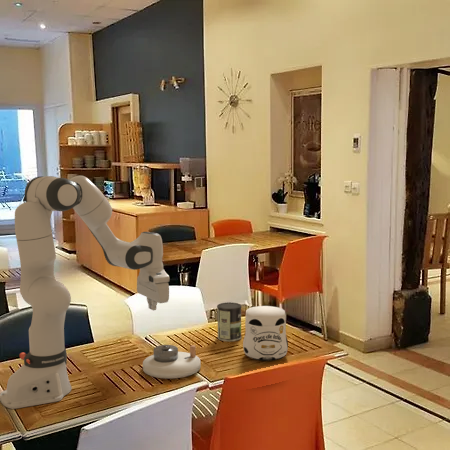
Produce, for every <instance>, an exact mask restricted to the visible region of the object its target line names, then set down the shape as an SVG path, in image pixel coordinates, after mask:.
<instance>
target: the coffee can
mask: <svg viewBox="0 0 450 450" xmlns="http://www.w3.org/2000/svg"><path fill="white" fill-rule="evenodd" d="M216 307H217V339H218V340H219V341H222V342H236V341H240V340H241V339H242V304H240V303H238V302H232V301H231V302H222V303H219V304H217V306H216Z"/></svg>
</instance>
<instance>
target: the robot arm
mask: <svg viewBox="0 0 450 450" xmlns="http://www.w3.org/2000/svg"><path fill="white" fill-rule="evenodd" d="M22 201H23V203H20V204H19V205H18V206H17V207H16V208H15V209H14V210H15V211H14V230H15V232H14V233H15V240H16V244H17V251H18V254H19V263H20V285H19V292H20V295H21V298H22V299H23V300H24V302H25V303H26V304H28V305H29V306H31V309H32V316H31V317H32V318H31V322H30V323H31V324H30V325H29V328H28V343H29V351H28V353H26V352H20V353H19V358H20V359H21V360H22V361H23V365H21V366H20V368H19V369H17V370H16V371H14V373H12V374H11V375H10V376H9V378H8V380H7V384H6V389H4V390H2V391H1V392H0V403H1V404H2V406H4V407H6V408H8V409H13V410H16V409H21V408H27V407H33V406H38V405H42V404H43V405H44V404H49V403H55V402H60V401H62V399H63V398H64V397H65V396H66V395H68V394H69V393H70V392H71V391H72V384H71V383H70V380H69V376H68V371H67V370H68V369H67V363H68V362H67V360H68V356H67V355H68V354H67V350H66V347H65V329H64V328H65V322H66V321H65V320H66V313H67V311H68V309H69V307H70V304H71V300H72V298H71V297H72V296H71V293H70V291H69V290H68V288H67V287H66V286H65V285H64V284H63V283H62V282H60V281H58V280H56V278H55V275H54V274H55V272H54V271H55V270H54V269H55V261H56V257H57V255H56V247H55V241H54V236H53V230H52V225H51V217H52V214H53V212H66V211H67V212H68V211H69V210H71V209H73V210H74V211H75V213H76V215H78V217H79V218H80V219H81V220H82V221H83V222H84V224H85V225H86V226H87V228H88V231H90V232H91V234H92V236H93V238H95V240H96V241H97V242H98V244H99V246H100V247H101V249H102V252H103V256H104V259H105V260H106V262H107V264H109V265H110V266H113V267H117V268H118V267H120V268H124V269H129V270H132V271H133V270H134V271H135V270H139V272H138V276H137V278H136V292H137V294H139V295H141V296H144V297H145V298H146V301H147V304H148V309H150V310H151V311H156V310H157V304H165V303H168V302H169V299H170V286H169V282H170V275H169V274H168V273H167V272H166V271H165V269H164V262H163V257H164V247H163V246H164V245H163V239H162V236H161V234H159V233H157V232H151V231H143V232H141V233H140V235H138V237H137V238H135V239H134V240H133V241H130V242H129V241H125V240H122V239H120V238H118V237H116V235H115V234H114V232H113V231H112V230H111V228H110V226H109V225H108V222H109V221H110V219H111V218H112V215H113V207H112V205H111V204H110V201H109V200H108V199H107V197H106V196H105V195H104V194H103V192H102V191H101V190H100V188H98V187H97V185H95V183H93V182H92V181H91V180H90V179H89V178H88V177H86V176H84V175H75V176H74V177H73V176H72V177H71V178H70V179H69V178H65V177H57V176H54V175H52V176H51V175H50V176H49V175H48V176H47V175H46V176H42V175H41V176H36V177H34V178H32V179H31V180H29V181H28V182H27V184H26V186H25V189H24V196H23V199H22Z"/></svg>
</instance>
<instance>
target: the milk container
mask: <svg viewBox="0 0 450 450" xmlns="http://www.w3.org/2000/svg"><path fill="white" fill-rule="evenodd" d="M286 318H287V317H286V310H285V309H283V308H282V307H278V306H272V305H258V306H252V307H249V308H247V309H246V310H245V317H244V320H245V325H244V326H245V327H244V328H245V331H244V337H243V343H242V348H243V353H244V355H245V356H247V357H248V358H249V359H251V360H255V361H261V362H273V361H277V360H278V361H279V360H281V359H283V358H284V357H285V356H286V355H287V353H288V349H289V348H288V347H289V342H288V338H287V332H286V331H287V330H286V328H287V322H286Z"/></svg>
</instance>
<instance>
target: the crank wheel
mask: <svg viewBox="0 0 450 450" xmlns="http://www.w3.org/2000/svg"><path fill="white" fill-rule="evenodd" d="M196 351H197V350H196V345H194V344H193V345H190V346H189V352H186V351H178V359H177V360H175V361H173V362H166V363H162V362H157V361H155V360H154V354H152V355H150V356H147V357H146V358H145V359H144V360H143V361H142V371H143V372H144V373H145V374H146V375H148V376H151V377H153V378H158V379H180V378H185V377H189V376H192V375H193V374H196V373H197V372H198V371H200V369H201V366H202V365H201V359H200V357H199V356H198V355H196Z"/></svg>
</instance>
